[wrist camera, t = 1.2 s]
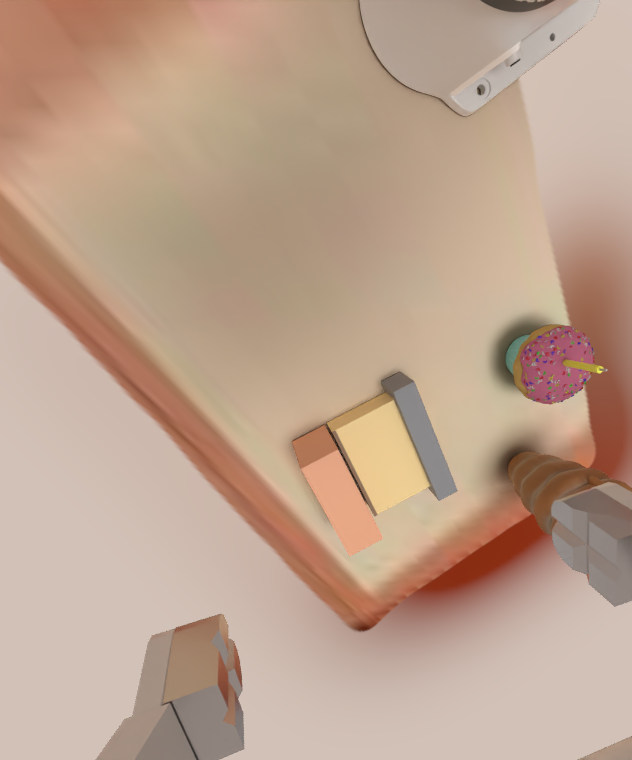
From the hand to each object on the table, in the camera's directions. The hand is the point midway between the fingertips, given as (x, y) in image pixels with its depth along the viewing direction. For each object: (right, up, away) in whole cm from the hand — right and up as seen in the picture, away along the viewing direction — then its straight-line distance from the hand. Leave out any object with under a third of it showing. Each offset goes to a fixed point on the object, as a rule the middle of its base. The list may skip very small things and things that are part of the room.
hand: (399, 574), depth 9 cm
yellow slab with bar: (+6, -3, +37) cm, 38 cm away
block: (0, -6, +37) cm, 38 cm away
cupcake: (+22, +7, +38) cm, 44 cm away
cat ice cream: (+23, -6, +42) cm, 48 cm away
